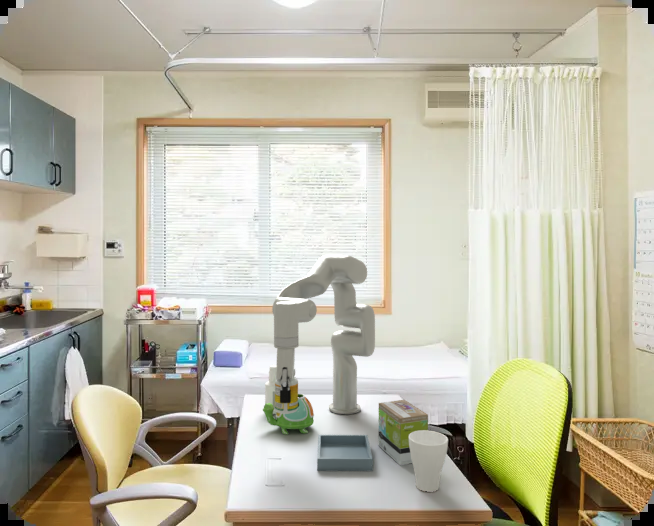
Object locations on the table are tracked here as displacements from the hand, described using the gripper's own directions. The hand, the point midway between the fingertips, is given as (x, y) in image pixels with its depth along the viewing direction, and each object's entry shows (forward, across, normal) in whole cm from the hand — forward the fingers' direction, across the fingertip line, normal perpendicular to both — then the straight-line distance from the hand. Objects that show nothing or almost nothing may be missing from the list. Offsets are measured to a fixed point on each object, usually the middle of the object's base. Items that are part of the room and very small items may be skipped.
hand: (286, 398), depth 150 cm
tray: (+18, +2, +18) cm, 25 cm away
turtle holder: (+18, -21, 0) cm, 28 cm away
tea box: (+18, -1, +36) cm, 41 cm away
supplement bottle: (+4, 0, 0) cm, 4 cm away
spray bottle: (+19, -39, -8) cm, 44 cm away
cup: (+18, +20, +40) cm, 48 cm away
